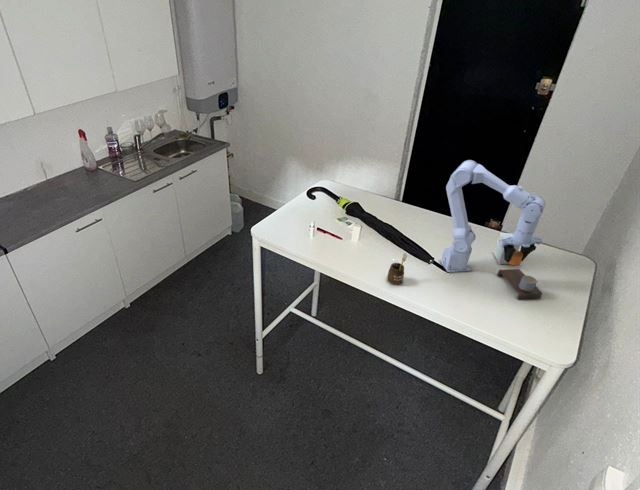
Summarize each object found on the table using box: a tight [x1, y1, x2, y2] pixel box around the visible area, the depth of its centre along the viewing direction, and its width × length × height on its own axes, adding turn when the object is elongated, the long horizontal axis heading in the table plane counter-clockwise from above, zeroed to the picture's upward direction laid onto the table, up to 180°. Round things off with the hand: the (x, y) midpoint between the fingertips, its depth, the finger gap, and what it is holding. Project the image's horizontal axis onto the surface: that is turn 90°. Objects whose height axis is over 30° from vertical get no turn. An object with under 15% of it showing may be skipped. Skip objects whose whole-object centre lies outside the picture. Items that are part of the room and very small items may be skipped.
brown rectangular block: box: [496, 268, 543, 300], centre depth 155 cm, size 8×15×3 cm, turn 2°
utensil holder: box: [387, 252, 408, 285], centre depth 159 cm, size 6×6×12 cm
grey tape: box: [519, 275, 538, 292], centre depth 150 cm, size 5×5×4 cm
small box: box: [493, 232, 521, 265], centre depth 167 cm, size 8×6×10 cm
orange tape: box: [507, 250, 523, 266], centre depth 152 cm, size 5×5×4 cm
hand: (513, 260), depth 152 cm, fingers closed on orange tape, 5 cm apart
